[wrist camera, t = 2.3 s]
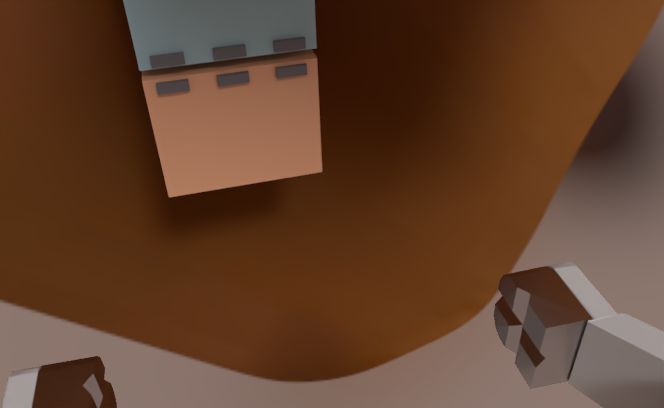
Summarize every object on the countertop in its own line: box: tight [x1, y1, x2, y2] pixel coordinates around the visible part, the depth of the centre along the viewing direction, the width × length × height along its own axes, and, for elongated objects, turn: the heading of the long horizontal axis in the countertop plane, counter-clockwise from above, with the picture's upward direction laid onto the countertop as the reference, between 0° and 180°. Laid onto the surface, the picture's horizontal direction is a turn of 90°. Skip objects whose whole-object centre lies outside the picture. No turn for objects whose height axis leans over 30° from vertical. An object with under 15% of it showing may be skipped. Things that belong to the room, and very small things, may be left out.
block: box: [142, 49, 322, 197], centre depth 21 cm, size 5×4×5 cm
